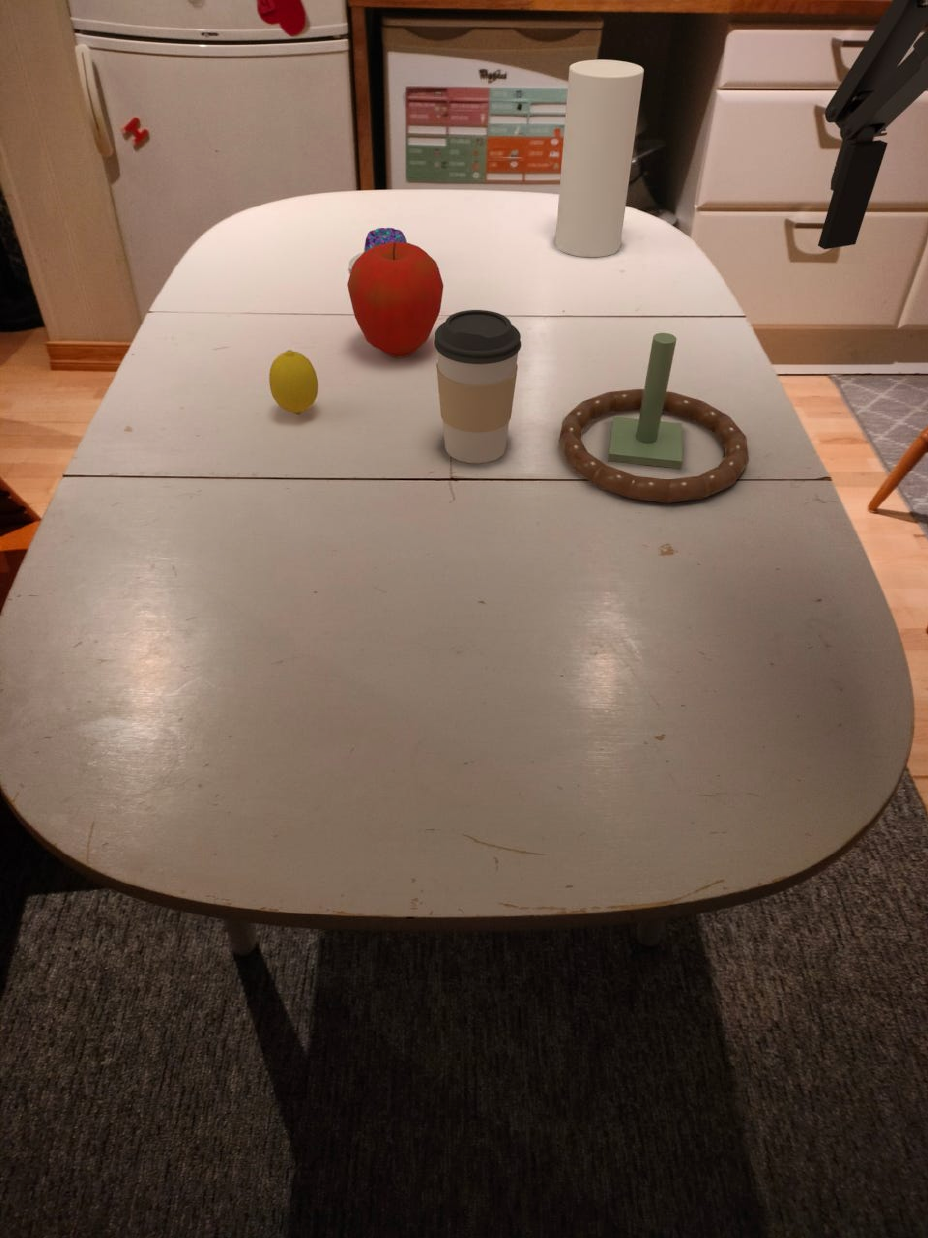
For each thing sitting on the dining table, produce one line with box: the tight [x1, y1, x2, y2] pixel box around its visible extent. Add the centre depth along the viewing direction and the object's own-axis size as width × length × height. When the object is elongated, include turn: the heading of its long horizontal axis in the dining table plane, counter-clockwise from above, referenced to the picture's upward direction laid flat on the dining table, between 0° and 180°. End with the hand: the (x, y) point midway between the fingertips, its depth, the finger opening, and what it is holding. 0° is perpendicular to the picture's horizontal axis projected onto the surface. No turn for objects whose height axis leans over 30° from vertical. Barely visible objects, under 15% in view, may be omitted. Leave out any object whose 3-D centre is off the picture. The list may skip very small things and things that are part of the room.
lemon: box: [268, 349, 319, 415], centre depth 98 cm, size 6×6×8 cm
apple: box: [346, 242, 444, 358], centre depth 108 cm, size 12×12×14 cm
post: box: [607, 332, 683, 470], centre depth 92 cm, size 8×8×13 cm
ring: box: [558, 388, 750, 504], centre depth 95 cm, size 21×21×2 cm
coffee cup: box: [433, 309, 522, 464], centre depth 91 cm, size 9×9×15 cm
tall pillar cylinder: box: [554, 59, 645, 258], centre depth 131 cm, size 11×11×25 cm
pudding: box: [347, 227, 408, 271], centre depth 130 cm, size 12×12×5 cm
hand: (904, 282), depth 56 cm, fingers open, 13 cm apart
